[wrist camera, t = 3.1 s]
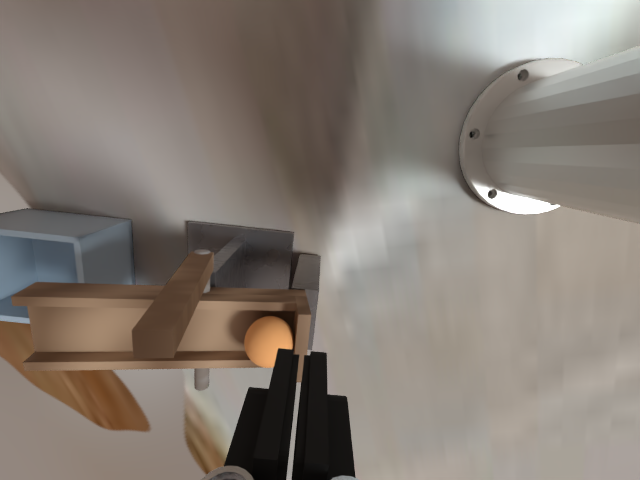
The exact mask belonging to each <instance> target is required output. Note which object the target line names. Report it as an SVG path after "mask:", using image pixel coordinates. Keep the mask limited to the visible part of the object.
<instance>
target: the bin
mask: <svg viewBox="0 0 640 480" xmlns="http://www.w3.org/2000/svg"><path fill="white" fill-rule="evenodd" d="M35 282H59V283H92V284H125V285H135V272H134V256H133V239H132V223H131V220H129V219H120V218H111V217H102V216H92V215H83V214H74V213H65V212H56V211H46V210H37V209H28V208H27V209H21V210H16V211H10V212H5V213H0V321H10V322H19V323H29V324H30V320H29V315H28V309H27V306H13V305H12V300H11V296H13V295H14V294H16V293H18V292H19V291H21V290H23V289H25V288H26V287H28V286H30V285H32V284H33V283H35Z"/></svg>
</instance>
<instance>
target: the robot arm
mask: <svg viewBox="0 0 640 480" xmlns="http://www.w3.org/2000/svg"><path fill="white" fill-rule="evenodd" d="M518 76H519V79H518ZM470 132H472V134H473V135H472V137H471V138H470V136H469V133H470ZM459 157H460V166H461V169H462V172H463V175H464V178H465V180H466V182H467V183H468V185H469V187H470V189H471V190H472V191H473V192H474V193H475V194H476V195H477V197H478V198H479V199H481V200H482V201H484V202H485V203H486V204H488V205H489V206H492V207H494V208H496V209H499V210H501V211H505V212H508V213H513V214H522V215H528V214H539V213H543V212H546V211H550V210H553V209H555V208H558V207H560V206H563V207H568V208H572V209H577V210H581V211H585V212H590V213H594V214H599V215H603V216H607V217H612V218H616V219H621V220H625V221H630V222H634V223H638V224H640V46H637V47H634V48H631V49H628V50H625V51H622V52H619V53H616V54H613V55H610V56H607V57H605V58H602V59H599V60H596V61H593V62H590V63H587V64H584V65H583V64H581V63H579V62H577V61H572V60H568V59H564V58H545V59H540V60H535V61H531V62H528V63H526V64H523V65H521V66H518V67H516V68H514V69H512V70H510V71H508V72H506V73H504V74H503V75H501V76H500V77H499V78H497V79H496V80H495V81H493V82H492V83H491V84H490V85H489V86H488V87H487V88H486V89H485V90H484V91H483V92H482V93H481V94H480V95H479V97H478V98H477V100H476V101H475V103H474V104H473V106H472V107H471V109H470V111H469V113H468V115H467V117H466V119H465V122H464V125H463V128H462V132H461V136H460V144H459ZM488 191H490V193H489V195H488V196H487V193H488ZM293 353H294V350H293V349H282V348H278V351H277V355H276V360H275V364H274V369H273V373H272V377H271V382H270V386H269V389H263V388H253V387H249V389H248V392H247V394H246V398H245V401H244V404H243V407H242V410H241V414H240V417H239V420H238V423H237V426H236V429H235V433H234V436H233V439H232V442H231V445H230V448H229V452H228V455H227V458H226V461H225V464H224V467H219V468H217V469H215V470H213V471H211V472H209V473H208V474H207V475H206V476H205V477H204V478H203V479H201V480H286V475H287V466H288V457H289V448H290V439H291V430H292V421H293V411H294V402H295V392H296V382H297V373H298V363H299V355H298V354H293ZM292 480H359V479H357V478H355V469H354V459H353V450H352V440H351V430H350V421H349V411H348V402H347V397H346V396H338V395H327V354H326V353H324V352H313V351H311V354H310V356H309V355H304V363H303V372H302V381H301V391H300V400H299V409H298V418H297V428H296V439H295V449H294V460H293V471H292Z"/></svg>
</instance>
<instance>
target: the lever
mask: <svg viewBox="0 0 640 480" xmlns="http://www.w3.org/2000/svg"><path fill="white" fill-rule="evenodd" d="M213 265H214V252H210V251H209V250H204V249H201V250H196V251H191V252H190V253H189V254H188V256H187V257H186V259H185V260H184V261H183V263H182V264H181V265H180V267H179V268H178V269H177V271H176V272H175V273H174V275H173V276H172V277H171V279H170V280H169V281H168V283H167V284H166V285H165V286H158V285H125V284H92V283H59V282H35V283H33V284H32V285H30V286H28V287H26V288H25V289H23V290H21V291H19V292H18V293H16V294H14V295H13V296H11V300H12V305H13V306H27V309H28V315H29V320H30V326H31V332H32V338H33V344H34V350H35V352H34V353H33V354H32V355H31V356H30V357H29V358H28V359H26V360H25V361H24V362H23V366H24V371H52V370H116V369H117V370H118V369H188V368H195V389H196V390H205V389H207V388H208V386H209V368H256V367H260V366H258V365H256V364H255V363H253V362H252V361H251V360H250V359H249V357H248V356H247V354H246V351H245V346H244V340H245V335H246V332H247V330H248V329H249V327H250V326H251V325H252V324H253V323H254V322H255V321H256V320H258V319H260V318H262V317H266V316H275V317H279V318H281V319H283V320H284V321H285V322H287V324H288V325H289V326H290V328H291V329H292V332H293V335H294V346H293V350H294V353H293V354H298V355H299V363H298V373H297V382H301V381H302V372H303V363H304V355H307V349H308V340H309V331H310V322H311V312H310V308H309V304H308V300H307V296H306V292H305V290H291V289H258V288H225V287H210V276H211V274H212V272H213Z"/></svg>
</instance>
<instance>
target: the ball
mask: <svg viewBox="0 0 640 480" xmlns="http://www.w3.org/2000/svg"><path fill="white" fill-rule="evenodd" d="M244 346H245V351H246V354H247V356H248V357H249V359H250V360H251V361H252V362H253V363H255V364H256V365H258V366H260V367H265V368H271V367H274V364H275V360H276V355H277V351H278V348H282V349H293V346H294V335H293V332H292V329H291V328H290V326H289V325H288V324H287V322H285V321H284V320H283V319H281V318H279V317H275V316H266V317H262V318H260V319H258V320H256V321H255V322H254V323H253V324H252V325H251V326H250V327H249V329H248V330H247V332H246V335H245V340H244Z"/></svg>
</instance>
